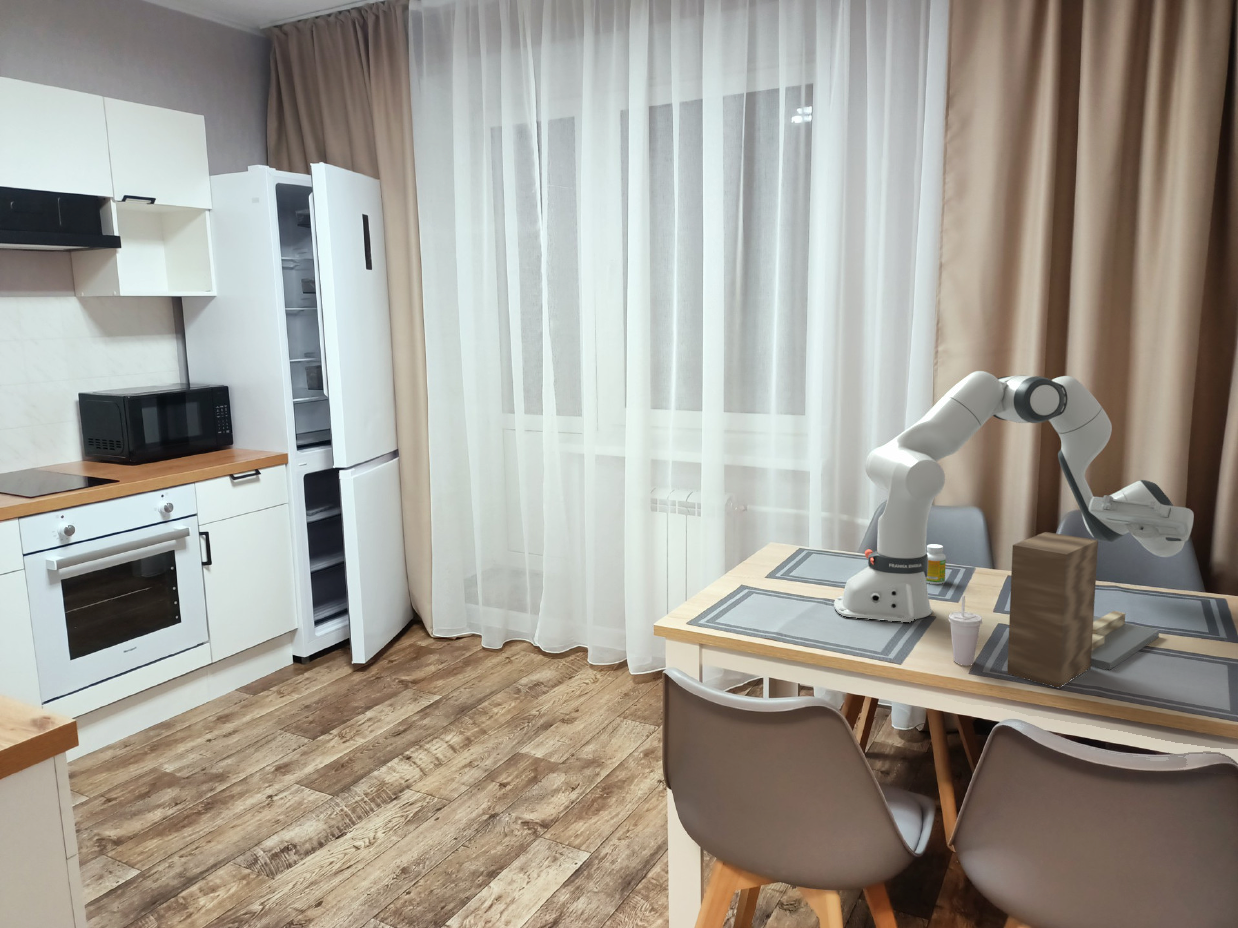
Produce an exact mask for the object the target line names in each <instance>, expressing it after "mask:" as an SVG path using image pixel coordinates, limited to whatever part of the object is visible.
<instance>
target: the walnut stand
mask: <svg viewBox="0 0 1238 928" xmlns="http://www.w3.org/2000/svg"><path fill="white" fill-rule="evenodd" d="M1098 546H1099V540H1096V539H1094V538H1086V537H1079V536H1072V535H1067V534H1062V533H1053V532H1050V531H1049V532H1048V531H1045V532H1044V531H1043V532H1042V533H1039V534H1037V535H1034V536H1032V537H1029V538H1026V539H1024V540H1022V541H1021V540H1020V541H1019V542H1016V543H1015V544H1014V543H1013V544H1012V550H1011V572H1010V573H1011V575H1010V596H1009V597H1010V598H1009V600H1010V602H1009V622H1008V646H1007V647H1008V648H1007V667H1006V668H1007V670H1006V674H1007V675H1010V674H1012V675H1011V676H1013V675H1014V676H1013V677H1016V676H1018V677H1017V678H1020V677H1021V679H1023V678H1025V680H1027V679H1030V680H1032V681H1031V682H1034V681H1036V682H1035V683H1037V682H1039V683H1038V684H1041V683H1044V684H1047V685H1046V686H1048V685H1052V686H1054V687H1053V688H1055V687H1059V688H1060V687H1061V686H1062V685H1064V684H1065V683H1067V682H1069V681H1070V680H1071V679H1073V678H1075V677H1076V676H1078V675H1079V674H1081V673H1083V672H1084V673H1086V672H1087V671H1089V670H1090V669H1091V667H1092V666H1091V653H1092V636H1093V619H1094V616H1095V601H1096V600H1095V599H1096V598H1095V597H1096V582H1097V581H1096V580H1097V569H1098V568H1097V564H1098V551H1099V547H1098ZM1088 669H1089V670H1088ZM1086 670H1087V671H1086ZM1085 671H1086V672H1085ZM1084 673H1083V674H1084ZM1081 675H1082V674H1081ZM1078 677H1079V676H1078ZM1076 678H1077V677H1076ZM1076 678H1075V679H1076ZM1030 680H1029V681H1030ZM1073 680H1074V679H1073ZM1070 682H1071V681H1070ZM1070 682H1069V683H1070ZM1044 684H1043V685H1044ZM1067 684H1068V683H1067ZM1064 686H1065V685H1064ZM1061 688H1062V687H1061ZM1061 688H1060V689H1061Z"/></svg>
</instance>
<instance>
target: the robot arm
mask: <svg viewBox="0 0 1238 928" xmlns="http://www.w3.org/2000/svg"><path fill="white" fill-rule="evenodd" d="M925 413H926V414H924V415H923V416H922V417H921V418H920V419H919V420H918V421H916V422H915V423H914V424H913V425H912V426H910V427H909V428H906V429H905V430H904V431H903V432H901V433H900V434H899V435H897V436H896V437H894V438H893V439H892V440H889V441H888V442H887V443H885V444H883V445H881V446H878V447H875V448H874V449H873V450H871V452H869V454H868V456H867V457H866V460H865V465H864V466H865V472H866V475H867V476H868V477H869V479H870V480H871V481H872V482H873V483H874V484H875V485H876V486H877V487H878V488H880V489H882V490H884V491H886V492H887V499H886V503H885V504H886V505H885V507H884V510H883V513H882V514H881V515H880V516H879V517H878V520H877V539H876V542H877V544H876V545H877V546H876V548H877V549H876V550H875V551H873V550H872V549H866V550H865V551H864V556H865V559H867V563H868V564H867V565H868V566H866V567H865V568H862V570H860V571H859V572H858V573H855V575H853V576H851V577H849V579H847V581H846V583H845V586H844V588H843V589H844V590H843V595H840V596H837V598H835V600H834V601H833V608H834V607H835V609H836V610H837V611H838V612H839V613H840V614H842V615H843V616H851V617H856V618H855V619H857V618H868V619H867V620H869V619H871V618H872V619H884V620H888V621H887V622H892V621H901V622H900V623H903V622H909V623H911V621H912V622H913V621H915V620H918V619H921V618H922V619H923V618H925V617H928V616H930V615H931V614H932V612H933V611H932V607H931V603H930V598H929V593H928V586H927V585H928V583H926V577H927V573H928V555H927V553H928V552H927V533H928V532H927V531H928V521H929V516H930V512H931V509H932V506H933V502H934V500H935V498H936V497H937V496H939V495H940V494H941V492H942V491H943V488H944V486H945V482H946V474H945V471H944V469H943V468H942V466H941V465H940V463H938V462H939V461H940V460H942V459H944V458H946V457H948V456H951V455H954V454H955V453H957V452H958V451H960V449H962V447H963V446H964V445H965V444H966V443H967V442H968V441H969V440H970V439H971V438H972V437H973V436H974V435H975V434H976V433H977V432H978V431H979V430H980V428H982V426H983V425H984V424H985V423H986V422H987V421H988V420H989V419H991V418H992V417H994V418H996V419H998V420H1000V421H1001V420H1002V421H1010V422H1013V423H1017V424H1030V423H1031V424H1041V423H1045V422H1047V421H1049V423H1050V424H1051V425H1052V428H1053V429H1054V430H1055V432H1056V433H1057V434H1058V436H1059V438H1060V441H1061V444H1060V446H1061V448H1060V449H1059V451H1058V453H1057V457H1058V458H1057V459H1058V462H1059V464H1060V468H1061V470H1062V472H1063V475H1064V477H1065V480H1066V481H1067V484H1068V485H1069V488H1070V490H1071V492H1072V494H1073V496H1074V499H1075V500H1076V503H1077V505H1078V508H1079V510H1080V512H1081V516H1082V520H1083V523H1084V525H1085V528H1086V530H1087V532H1088V533H1089V534H1090V536H1091V537H1093V539H1094V540H1098V541H1100V542H1106V543H1113V542H1114V541H1117V540H1118V539H1120V538H1122V537H1123V536H1125V535H1126V534H1128V533H1129V534H1130V535H1131V536H1133V537H1134V538H1135V540H1137V542H1139V543H1140V545H1141V546H1142V547H1143V548H1144V549H1145V550H1147V551H1148V552H1150V553H1151V554H1153V555H1155V556H1157V557H1161V558H1168V557H1169V558H1170V557H1173V556H1175V555H1177V554H1178V553H1180V552H1181V551H1182V549H1183V548H1184V546H1185V542H1187V541H1188V540H1189V539H1190V536H1191V533H1192V529H1193V526H1194V515H1195V514H1194V511H1193V510H1191V508H1187V507H1184V506H1174V505H1173V502H1172V501H1171V499H1170V498H1169V496H1168V495H1166V493H1164V491H1163V490H1162V489H1161V487H1160V486H1159V485H1158V484H1157V483H1155V482H1153V481H1150V480H1146V479H1140V480H1138V481H1135V482H1133V483H1131V484H1128V485H1127V486H1125V487H1123V488H1121V489H1120V490H1118V491H1116V492H1114V493H1111V494H1110V495H1103V497H1101V496H1100V497H1099V496H1094V495H1093V492H1092V490H1091V488H1090V485H1089V484H1088V481H1087V479H1086V475H1085V474H1086V471H1087V469H1088V468H1089V466H1090V464H1091V463H1092V462H1093V460H1094V459H1096V457H1097V456H1098V455H1099V454H1100V453H1101V452H1102V451H1103V450H1104V449H1105V447H1106V446H1107V444H1108V442H1109V441H1110V438H1111V435H1112V431H1113V430H1112V429H1113V427H1112V422H1111V420H1110V418H1109V416H1108V414H1107V412H1106V411H1105V409H1104V408H1103V407H1102V405H1101V404H1100V403H1099V401H1098V400H1097V398H1096V397H1095V396H1094V395H1093V394H1092V393H1091V391H1090V390H1089V389H1087V388H1086V386H1084V384H1083V383H1081V382H1080V381H1079V380H1078V379H1077V378H1075V377H1073V376H1070V375H1063V376H1059V377H1058V376H1057V377H1056V378H1053V379H1050V378H1047V377H1044V376H1038V375H1037V376H1035V375H1034V376H1031V375H1027V374H1026V375H1025V374H1023V375H1022V374H1020V375H1019V374H1018V375H1011V376H1010V375H1008V376H1001V377H998V378H997V377H996V376H995V375H994V374H992V373H990V372H987V371H983V370H976V371H973V372H970V373H969V374H968V375H967V376H965V377H964V378H963V379H962V380H960V381H958V382H957V383H955V384H954V385H953V387H951V388H950V389H949V390H948V391H947V392H946V393H945V394H944V395H943V396H942V397H941V398H940V399H939V400H938V401H937V402H936V403H935V404H934V405H933V406H932V407H931V408H930V409H929V410H928V411H927V412H925ZM835 609H834V610H835ZM843 616H842V617H843ZM914 619H915V620H914ZM890 620H892V621H890Z"/></svg>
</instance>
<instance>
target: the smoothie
mask: <svg viewBox="0 0 1238 928" xmlns="http://www.w3.org/2000/svg"><path fill="white" fill-rule="evenodd" d="M965 600H966V595H962V596H961V611H953V612H951V613H950V614H948V621H949V623H950V631H951V632H950V633H951V643H952V644H951V645H952V652H953V653H952V654H953V662H954V661H955V662H956V663H959V664H962V665H961V666H963V665H970V666H972V665H971V664H973V663H975V658H976V651H977V646H978V641H979V634H980V629H981V625H982V624H983V617H982V616H981V615H979V614H977V613H974V612H968V611H965V609H966V607H965V606H966V605H965V603H966V601H965ZM955 662H954V663H955ZM956 663H955V664H956ZM973 665H974V664H973Z"/></svg>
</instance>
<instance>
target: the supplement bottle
mask: <svg viewBox="0 0 1238 928" xmlns="http://www.w3.org/2000/svg"><path fill="white" fill-rule="evenodd" d="M943 552H944V546H943V545H941V544H935V543H931V544H928V545H927V544H926V553H927V555H928V573H927V577H926V583H927V584H929V583H930V585H942V583H943V584H945V582H946V566H947V565H946V560H947V557H946V555H945V553H943Z"/></svg>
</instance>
